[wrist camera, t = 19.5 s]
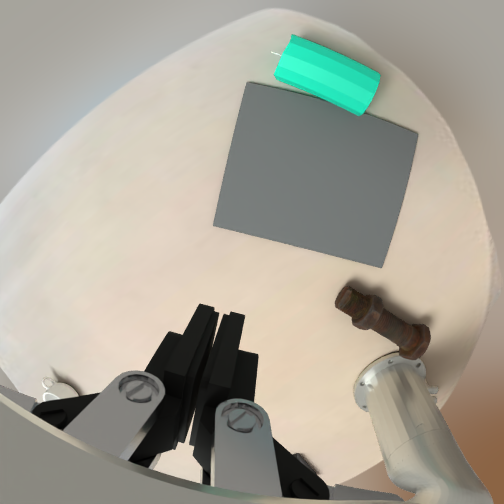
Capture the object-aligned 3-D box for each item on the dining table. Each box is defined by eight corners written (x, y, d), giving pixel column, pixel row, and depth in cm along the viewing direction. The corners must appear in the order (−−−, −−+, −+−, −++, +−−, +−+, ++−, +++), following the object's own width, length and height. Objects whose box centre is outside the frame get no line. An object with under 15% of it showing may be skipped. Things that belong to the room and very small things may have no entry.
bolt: (339, 280, 40) (412, 328, 41) (322, 313, 39) (399, 358, 40) (360, 275, 34) (437, 328, 35) (342, 313, 33) (423, 362, 34)
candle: (373, 74, 30) (282, 35, 29) (385, 71, 25) (278, 24, 24) (354, 114, 33) (264, 75, 32) (363, 118, 28) (257, 72, 27)
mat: (416, 134, 32) (418, 134, 31) (380, 266, 37) (381, 268, 36) (247, 83, 32) (246, 82, 32) (213, 225, 37) (212, 225, 37)
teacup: (91, 403, 49) (80, 419, 44) (73, 408, 50) (62, 423, 45) (60, 365, 47) (46, 380, 42) (43, 373, 48) (30, 387, 43)
